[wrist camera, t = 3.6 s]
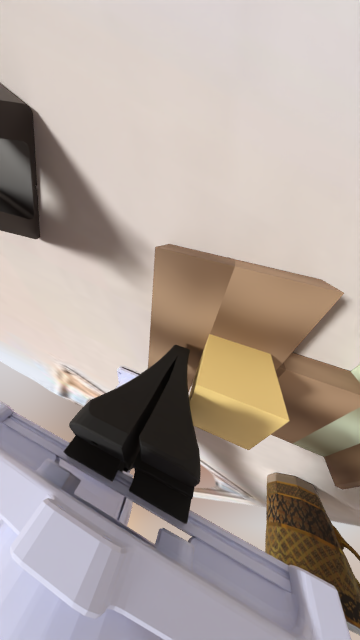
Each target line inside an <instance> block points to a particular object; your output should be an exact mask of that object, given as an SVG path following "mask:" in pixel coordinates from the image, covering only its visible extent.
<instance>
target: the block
mask: <svg viewBox="0 0 360 640" xmlns="http://www.w3.org/2000/svg"><path fill="white" fill-rule="evenodd" d="M189 403H190V409H191V415H192V421H193V426H195V427H198V428H200V429H202V430H204V431H207V432H209V433H211V434H213V435H216V436H218V437H220V438H222V439H224V440H227V441H229V442H231V443H233V444H236V445H238V446H240V447H242V448H245V449H247V450H250V449H251V448H252V447H254V446H255V445H257V444H258V443H259V442H261V441H262V440H264V439H265V438H266V437H268V436H269V435H271V434H272V433H273V432H275V431H276V430H278V429H279V428H280V427H282V426H283V425H285V424H286V423H287V422H289V417H288V414H287V410H286V407H285V403H284V400H283V396H282V392H281V389H280V385H279V382H278V378H277V375H276V371H275V368H274V364H273V361H272V357H271V354H269V353H266V352H263V351H260V350H257V349H254V348H251V347H248V346H245V345H241V344H238V343H235V342H232V341H229V340H226V339H223V338H220V337H217V336H214V335H211V334H209V337H208V340H207V342H206V345H205V348H204V351H203V353H202V356H201V359H200V362H199V365H198V367H197V370H196V374H195V377H194V381H193V385H192V388H191V392H190V395H189Z"/></svg>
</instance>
